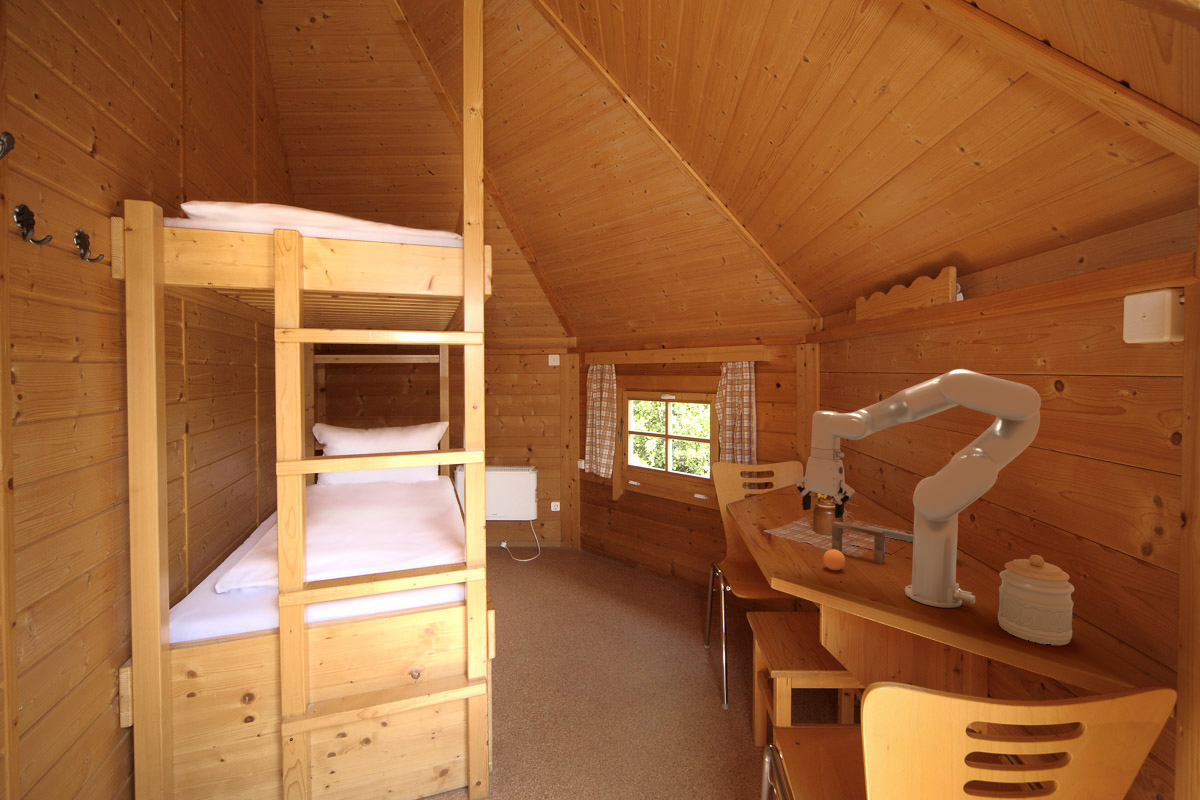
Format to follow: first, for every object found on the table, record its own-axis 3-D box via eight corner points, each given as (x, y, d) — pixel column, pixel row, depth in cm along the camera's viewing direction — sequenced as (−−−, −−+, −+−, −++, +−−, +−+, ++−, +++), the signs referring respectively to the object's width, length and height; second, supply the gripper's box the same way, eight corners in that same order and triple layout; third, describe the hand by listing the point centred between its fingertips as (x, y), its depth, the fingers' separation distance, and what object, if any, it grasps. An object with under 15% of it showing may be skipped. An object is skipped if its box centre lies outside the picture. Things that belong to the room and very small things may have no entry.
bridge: (835, 550, 175) (836, 521, 175) (884, 562, 164) (885, 531, 163) (831, 552, 173) (832, 522, 172) (880, 564, 162) (881, 533, 161)
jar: (996, 614, 128) (999, 542, 127) (1067, 629, 120) (1071, 553, 120) (998, 635, 117) (1001, 557, 117) (1076, 653, 110) (1080, 569, 109)
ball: (848, 570, 157) (849, 550, 156) (839, 575, 153) (840, 554, 152) (828, 564, 161) (829, 545, 161) (819, 569, 157) (820, 549, 157)
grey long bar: (917, 542, 183) (917, 535, 183) (915, 544, 182) (915, 536, 182) (869, 532, 195) (869, 525, 195) (866, 533, 194) (867, 526, 194)
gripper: (862, 457, 146) (858, 518, 147) (804, 449, 160) (801, 505, 161) (848, 459, 142) (845, 522, 142) (790, 451, 155) (787, 508, 156)
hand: (822, 513), depth 152 cm, fingers open, 9 cm apart
